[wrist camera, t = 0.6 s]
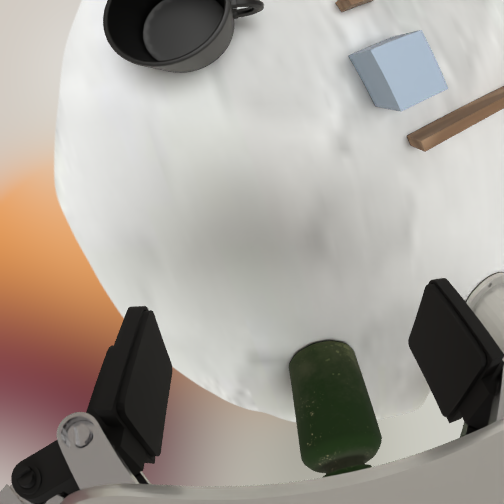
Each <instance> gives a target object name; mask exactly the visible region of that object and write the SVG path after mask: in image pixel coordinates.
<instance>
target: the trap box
mask: <svg viewBox="0 0 504 504" xmlns="http://www.w3.org/2000/svg"><path fill="white" fill-rule="evenodd" d="M371 1H373V0H338V1H337V2H336V5H337V6H338V7H339V9H340V10H341V12H343V11H346V10H349V9H351V8H354V7H357V6H359V5H362V4H365V3H368V2H371ZM503 108H504V86H503V87H501V88H499V89H497V90H495V91H493V92H491V93H489V94H487V95H485V96H483V97H481V98H479V99H477V100H475V101H473V102H471V103H469V104H467V105H465V106H463V107H461V108H459V109H457V110H455V111H453V112H451V113H449V114H447V115H445V116H444V117H442V118H440V119H438V120H436V121H434V122H432V123H430V124H428V125H426V126H424V127H422V128H421V129H419V130H417V131H415V132H413V133H411V134H409V135H407V138H408V140H409V143H410V145H411V146H413V147H416V148H418V149H420V150H422V151H427V150H429V149H431V148H432V147H434V146H436V145H438V144H440V143H441V142H443V141H445V140H447V139H449V138H450V137H452V136H454V135H456V134H458V133H460V132H461V131H463V130H465V129H467V128H469V127H470V126H472V125H474V124H476V123H478V122H479V121H481V120H483V119H485V118H487V117H489V116H490V115H492V114H494V113H496V112H498V111H499V110H501V109H503Z"/></svg>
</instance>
